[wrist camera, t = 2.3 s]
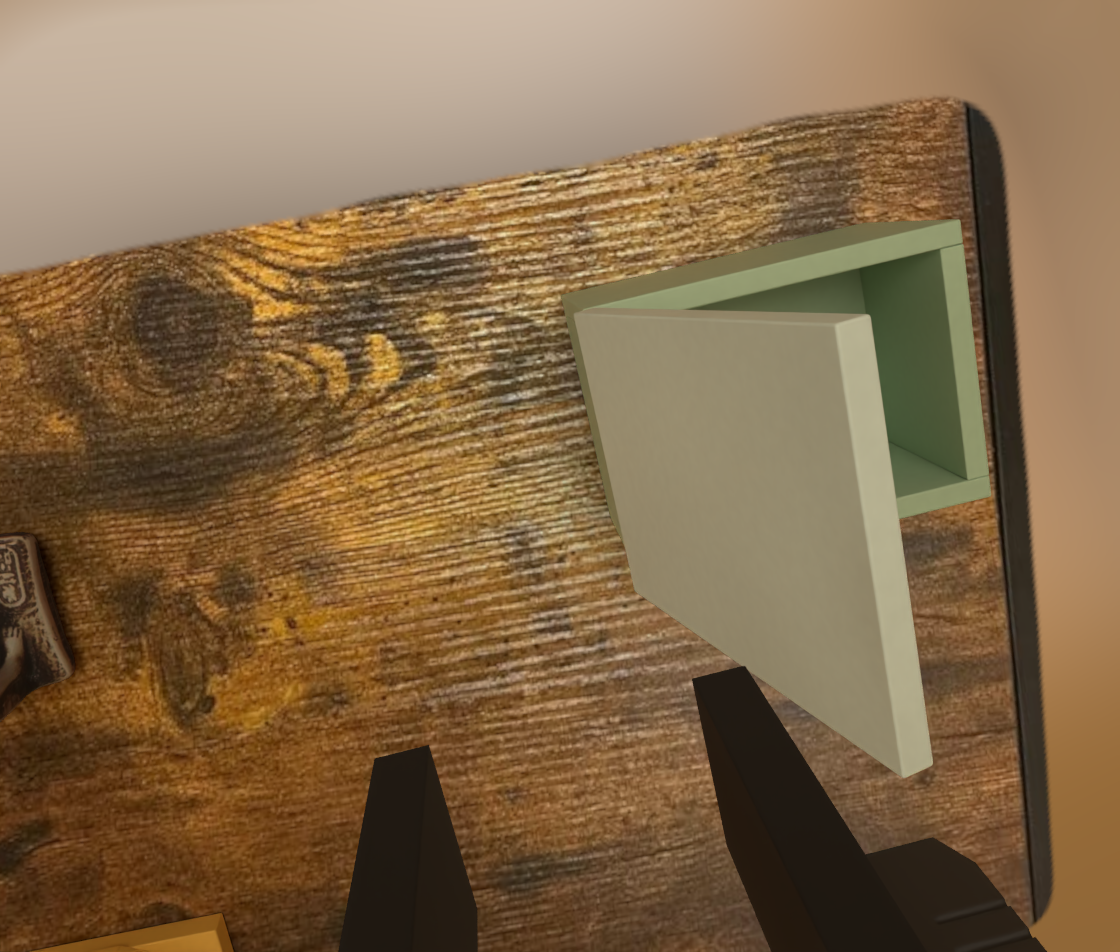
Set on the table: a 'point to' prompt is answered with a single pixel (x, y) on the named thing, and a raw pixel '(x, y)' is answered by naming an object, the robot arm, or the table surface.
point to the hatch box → (898, 329)
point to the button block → (160, 938)
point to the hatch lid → (766, 504)
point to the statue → (28, 624)
